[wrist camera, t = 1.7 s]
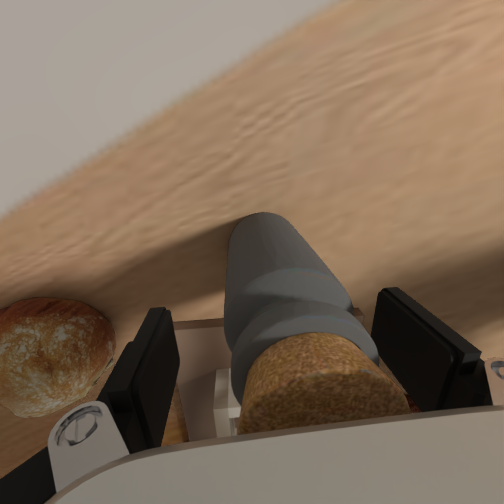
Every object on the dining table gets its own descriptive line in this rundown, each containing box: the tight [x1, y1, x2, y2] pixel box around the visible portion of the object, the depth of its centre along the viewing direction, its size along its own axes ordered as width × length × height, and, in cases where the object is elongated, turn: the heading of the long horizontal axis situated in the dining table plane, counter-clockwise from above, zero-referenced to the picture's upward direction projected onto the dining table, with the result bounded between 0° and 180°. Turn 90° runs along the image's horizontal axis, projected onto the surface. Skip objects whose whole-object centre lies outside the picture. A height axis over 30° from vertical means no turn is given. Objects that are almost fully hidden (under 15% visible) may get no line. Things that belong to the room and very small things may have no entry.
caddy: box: [173, 308, 364, 442], centre depth 24 cm, size 18×20×5 cm
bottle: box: [224, 212, 410, 435], centre depth 13 cm, size 6×6×15 cm
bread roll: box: [0, 297, 116, 418], centre depth 20 cm, size 10×10×8 cm
